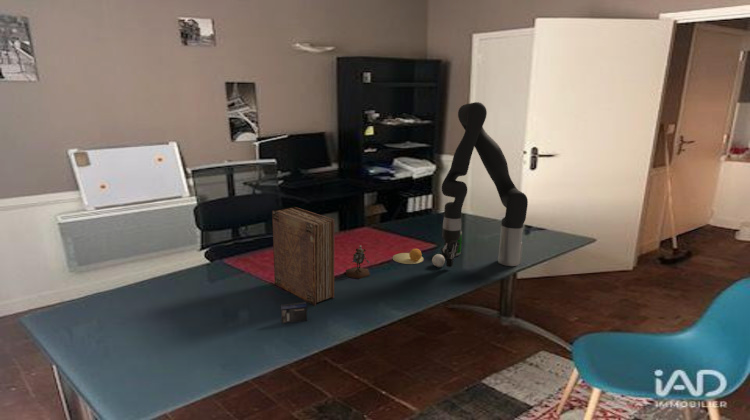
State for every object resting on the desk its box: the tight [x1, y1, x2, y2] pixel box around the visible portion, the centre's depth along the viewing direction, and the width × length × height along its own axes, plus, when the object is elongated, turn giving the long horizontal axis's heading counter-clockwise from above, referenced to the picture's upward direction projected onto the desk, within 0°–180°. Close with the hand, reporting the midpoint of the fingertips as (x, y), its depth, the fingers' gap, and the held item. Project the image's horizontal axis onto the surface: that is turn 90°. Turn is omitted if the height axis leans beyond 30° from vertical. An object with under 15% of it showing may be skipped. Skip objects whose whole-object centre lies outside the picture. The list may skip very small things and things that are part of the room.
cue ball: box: [431, 253, 446, 268], centre depth 211 cm, size 6×6×6 cm
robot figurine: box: [345, 245, 371, 280], centre depth 200 cm, size 11×9×12 cm
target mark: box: [392, 252, 424, 265], centre depth 221 cm, size 14×14×1 cm
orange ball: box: [408, 248, 423, 261], centre depth 218 cm, size 6×6×6 cm
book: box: [271, 206, 335, 307], centre depth 180 cm, size 25×9×30 cm, turn 44°
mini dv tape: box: [280, 301, 308, 324], centre depth 160 cm, size 8×2×6 cm, turn 106°
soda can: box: [454, 230, 463, 257], centre depth 226 cm, size 8×8×12 cm
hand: (449, 266), depth 208 cm, fingers closed
